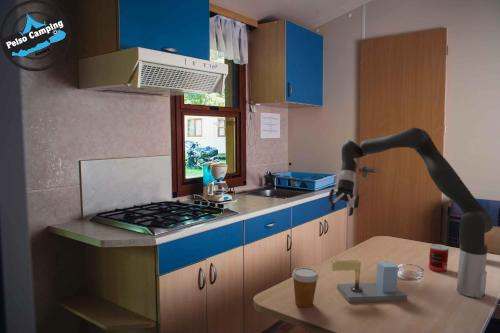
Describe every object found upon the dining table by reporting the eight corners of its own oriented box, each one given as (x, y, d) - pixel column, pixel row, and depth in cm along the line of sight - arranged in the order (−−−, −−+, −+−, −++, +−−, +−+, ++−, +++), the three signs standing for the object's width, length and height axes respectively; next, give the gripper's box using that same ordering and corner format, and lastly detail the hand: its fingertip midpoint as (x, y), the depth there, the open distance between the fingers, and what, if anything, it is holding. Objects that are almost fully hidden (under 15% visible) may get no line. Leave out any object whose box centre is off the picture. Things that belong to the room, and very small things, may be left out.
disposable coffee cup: (299, 295, 150) (301, 265, 148) (322, 303, 144) (323, 271, 142) (285, 303, 142) (287, 272, 141) (308, 312, 136) (310, 279, 135)
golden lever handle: (357, 286, 153) (359, 260, 151) (360, 289, 150) (361, 262, 149) (329, 287, 151) (330, 260, 150) (331, 289, 149) (332, 263, 148)
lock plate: (391, 287, 160) (392, 276, 159) (406, 300, 148) (407, 289, 147) (337, 288, 157) (337, 277, 156) (348, 302, 145) (349, 290, 144)
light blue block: (389, 285, 156) (390, 261, 155) (396, 291, 151) (398, 266, 149) (375, 286, 155) (377, 261, 154) (382, 292, 150) (384, 267, 149)
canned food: (442, 267, 185) (444, 244, 183) (449, 273, 177) (451, 249, 175) (425, 266, 185) (427, 243, 184) (431, 272, 177) (433, 248, 176)
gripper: (334, 175, 185) (329, 208, 181) (363, 183, 186) (358, 216, 181) (330, 179, 193) (324, 211, 188) (358, 186, 193) (352, 218, 189)
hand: (341, 213), depth 185 cm, fingers open, 8 cm apart
